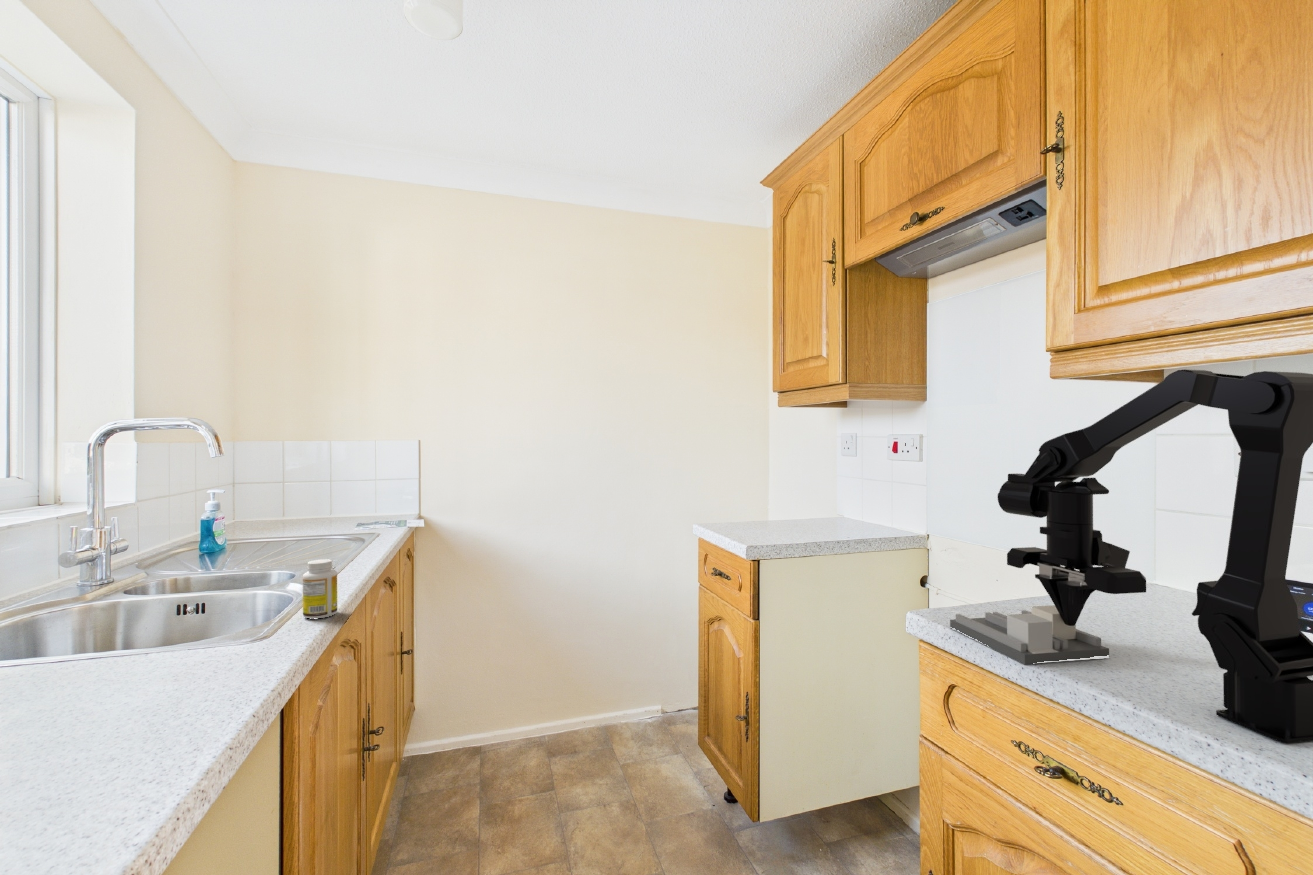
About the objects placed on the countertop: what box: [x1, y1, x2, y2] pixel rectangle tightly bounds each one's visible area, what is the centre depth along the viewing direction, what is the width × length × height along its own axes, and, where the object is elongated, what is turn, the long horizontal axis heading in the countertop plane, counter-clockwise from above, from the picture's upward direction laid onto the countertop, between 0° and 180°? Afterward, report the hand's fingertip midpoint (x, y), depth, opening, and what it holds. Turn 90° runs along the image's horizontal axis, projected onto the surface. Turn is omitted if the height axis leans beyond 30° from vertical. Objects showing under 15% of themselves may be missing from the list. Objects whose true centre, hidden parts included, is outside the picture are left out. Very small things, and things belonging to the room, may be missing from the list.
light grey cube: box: [1006, 613, 1053, 651], centre depth 84 cm, size 4×4×4 cm
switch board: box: [949, 609, 1110, 666], centre depth 90 cm, size 16×14×3 cm
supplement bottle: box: [302, 558, 338, 619], centre depth 106 cm, size 6×6×10 cm
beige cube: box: [1030, 604, 1077, 640], centre depth 89 cm, size 4×4×4 cm
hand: (1070, 625), depth 86 cm, fingers closed
